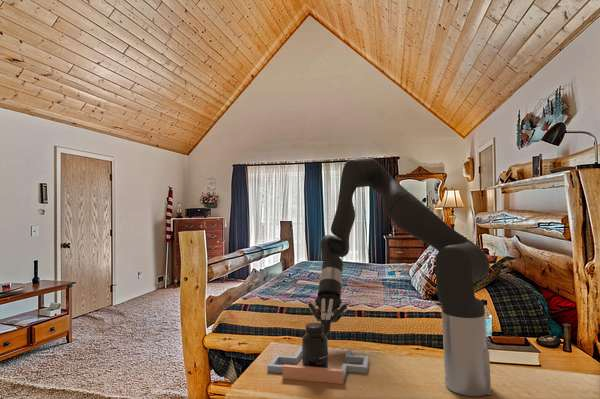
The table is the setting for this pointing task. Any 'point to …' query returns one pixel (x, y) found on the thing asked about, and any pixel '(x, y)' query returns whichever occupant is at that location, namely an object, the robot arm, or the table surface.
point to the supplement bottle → (315, 346)
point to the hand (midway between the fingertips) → (324, 333)
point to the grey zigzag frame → (317, 368)
